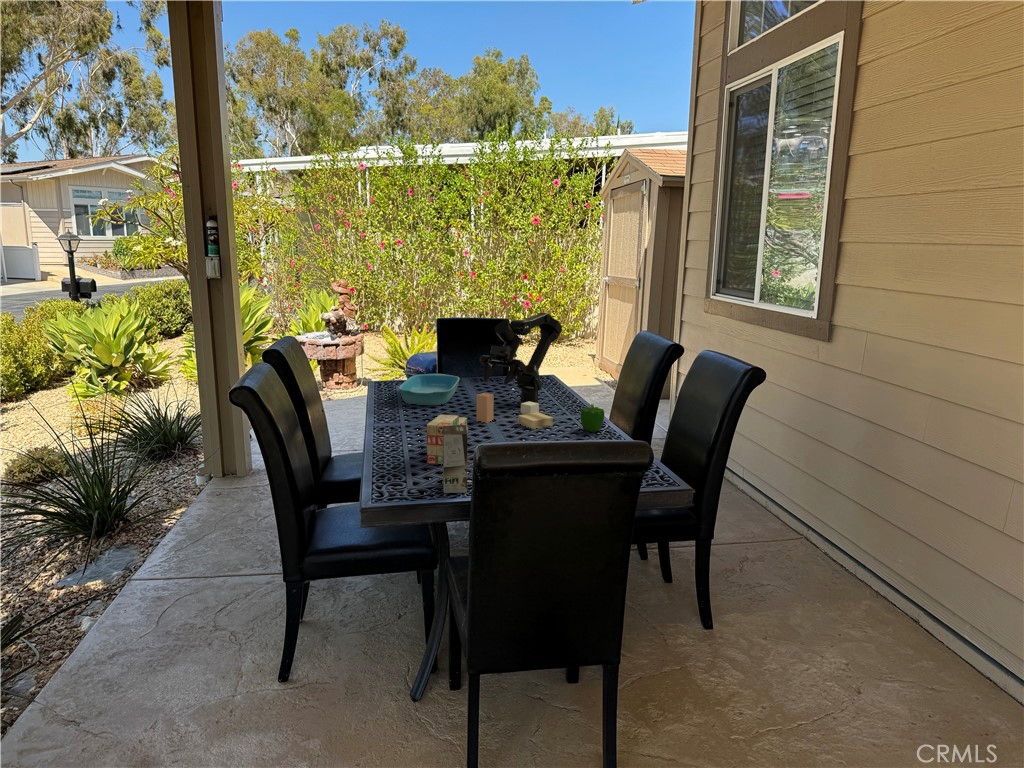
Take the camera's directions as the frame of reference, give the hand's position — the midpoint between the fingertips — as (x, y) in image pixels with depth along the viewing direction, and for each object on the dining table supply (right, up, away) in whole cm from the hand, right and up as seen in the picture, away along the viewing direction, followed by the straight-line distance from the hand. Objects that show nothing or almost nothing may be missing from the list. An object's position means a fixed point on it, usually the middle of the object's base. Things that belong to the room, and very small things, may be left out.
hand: (494, 382), depth 247 cm
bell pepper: (+35, -17, -15) cm, 41 cm away
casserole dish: (-28, -7, +31) cm, 43 cm away
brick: (+13, -12, +8) cm, 19 cm away
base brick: (+15, -16, -9) cm, 24 cm away
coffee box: (-9, -28, -71) cm, 77 cm away
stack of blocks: (-13, -22, -44) cm, 51 cm away
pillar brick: (-3, -14, -5) cm, 15 cm away
